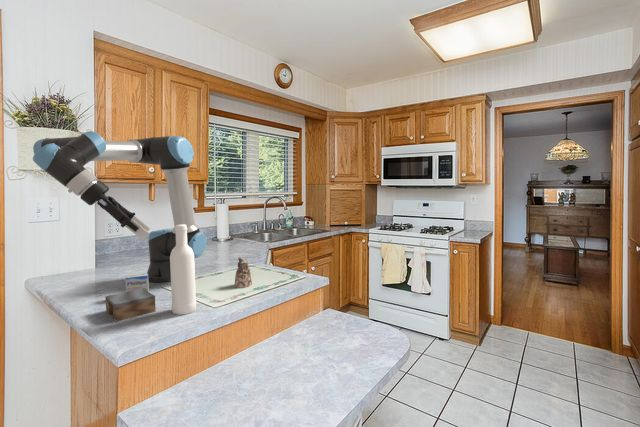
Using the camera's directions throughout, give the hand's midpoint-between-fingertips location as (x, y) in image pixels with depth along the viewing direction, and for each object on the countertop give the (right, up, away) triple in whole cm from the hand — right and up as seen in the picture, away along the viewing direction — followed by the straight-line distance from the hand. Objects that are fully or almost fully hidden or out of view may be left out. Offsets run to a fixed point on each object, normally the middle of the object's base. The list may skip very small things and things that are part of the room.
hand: (147, 234), depth 111 cm
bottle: (+9, -27, +7) cm, 30 cm away
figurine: (+23, -25, +37) cm, 50 cm away
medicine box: (-15, -26, +22) cm, 38 cm away
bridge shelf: (-9, -27, +7) cm, 30 cm away
